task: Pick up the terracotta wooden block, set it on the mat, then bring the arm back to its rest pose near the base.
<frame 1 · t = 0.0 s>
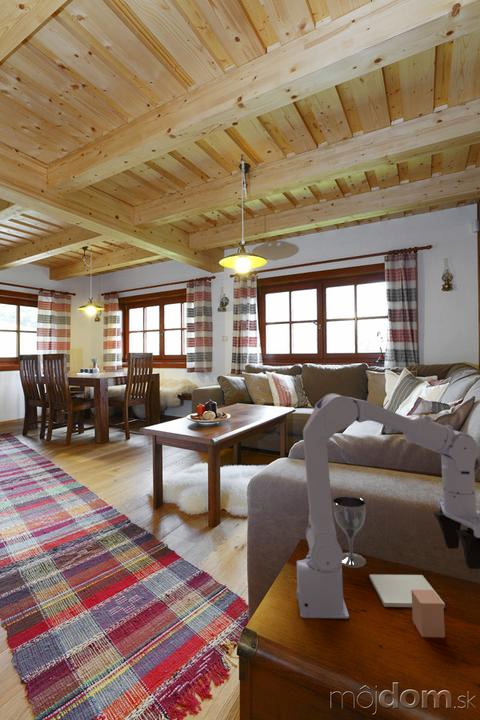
hand: (462, 557, 70), 10 cm above the wooden chest, tool pointing down, fingers open, 7 cm apart
wine glass: (351, 560, 89), on the wooden chest
mat: (404, 591, 76), on the wooden chest
block: (428, 629, 65), on the wooden chest
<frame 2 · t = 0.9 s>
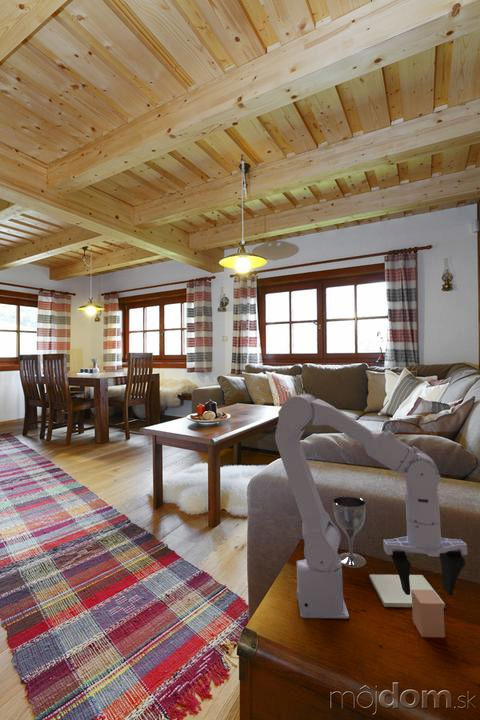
hand: (426, 591, 65), 7 cm above the wooden chest, tool pointing down, fingers open, 7 cm apart
nothing on the wooden chest moved.
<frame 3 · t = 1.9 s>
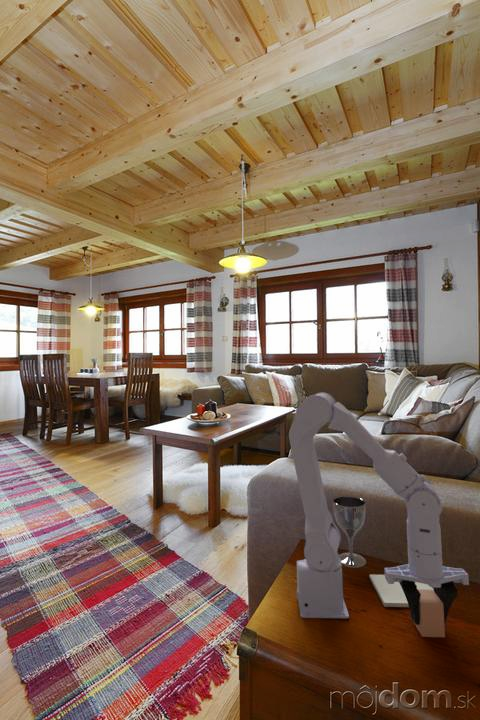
hand: (428, 621, 65), 1 cm above the wooden chest, tool pointing down, fingers closed on block, 4 cm apart
block: (428, 628, 65), on the wooden chest, touching gripper
everything else where it was.
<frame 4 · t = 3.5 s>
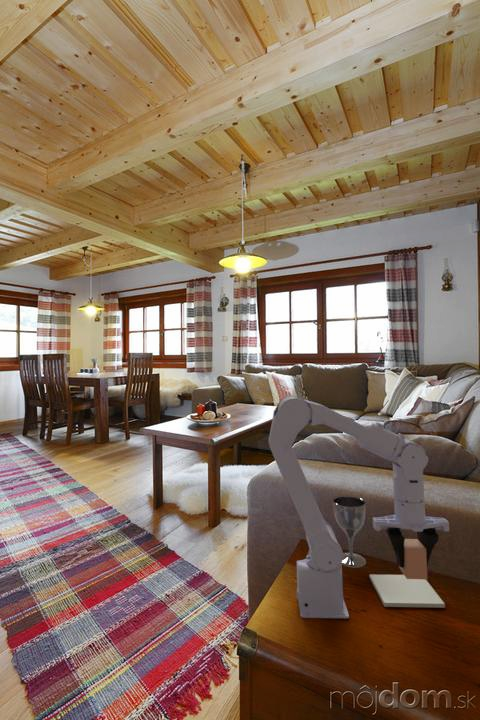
hand: (412, 564, 71), 8 cm above the wooden chest, tool pointing down, fingers closed on block, 4 cm apart
block: (413, 573, 71), point 7 cm above the wooden chest, touching gripper
everything else where it was.
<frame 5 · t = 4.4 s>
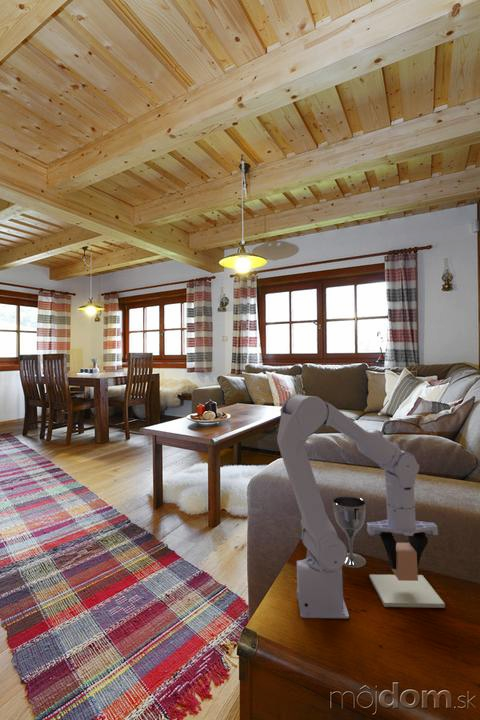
hand: (403, 566, 76), 5 cm above the wooden chest, tool pointing down, fingers closed on block, 4 cm apart
block: (404, 575, 76), point 4 cm above the wooden chest, touching gripper
everything else where it was.
when the fingers open (4 cm above the wooden chest, at t = 5.1 s): block drops 1 cm, resting on mat.
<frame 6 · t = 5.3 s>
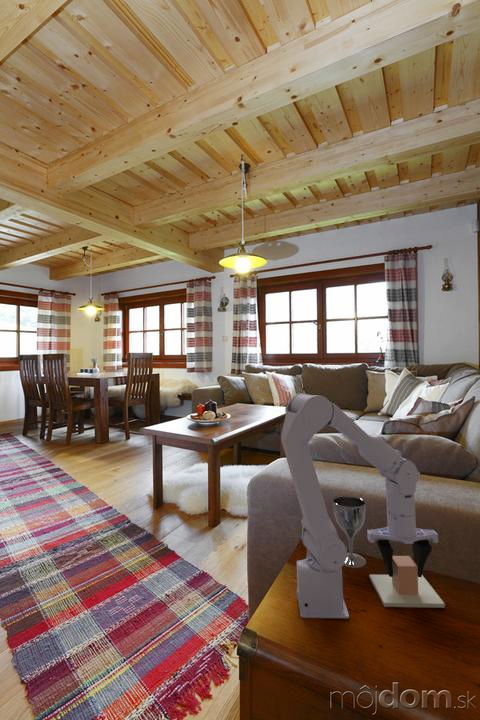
hand: (403, 574, 76), 4 cm above the wooden chest, tool pointing down, fingers open, 5 cm apart
block: (404, 588, 75), point 1 cm above the wooden chest, touching mat
everything else where it was.
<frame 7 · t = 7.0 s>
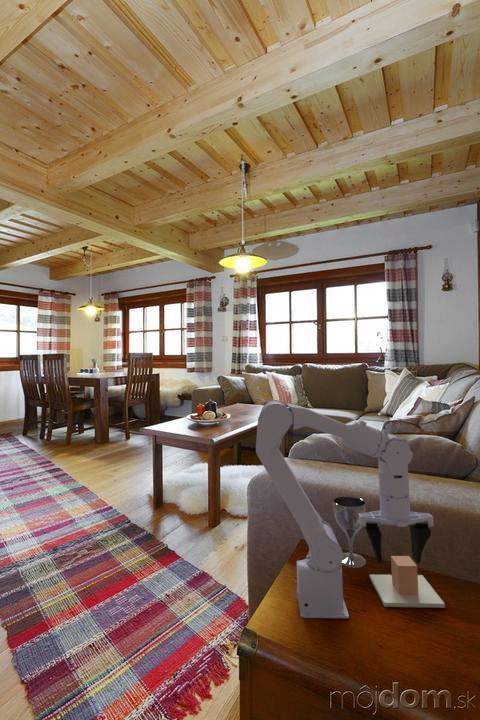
hand: (397, 560, 71), 9 cm above the wooden chest, tool pointing down, fingers open, 7 cm apart
nothing on the wooden chest moved.
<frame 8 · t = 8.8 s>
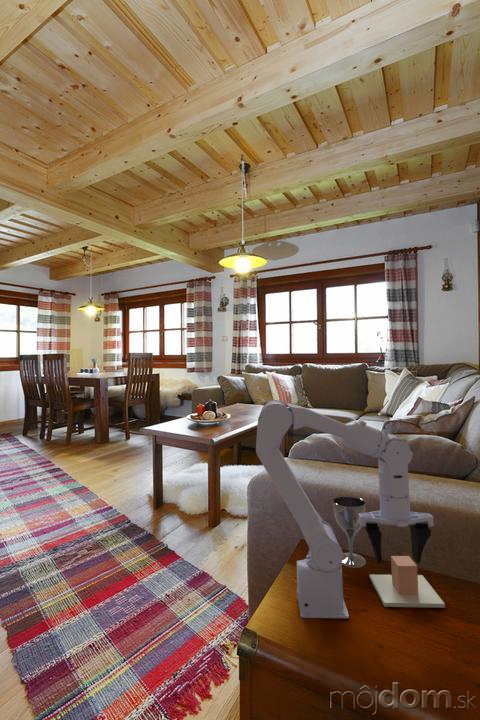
hand: (397, 560, 71), 9 cm above the wooden chest, tool pointing down, fingers open, 7 cm apart
nothing on the wooden chest moved.
at the end: block inside the target area on the mat (0.3 cm from its centre), point 0.8 cm above the mat's base; block tilted 0°; the gripper is holding nothing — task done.
